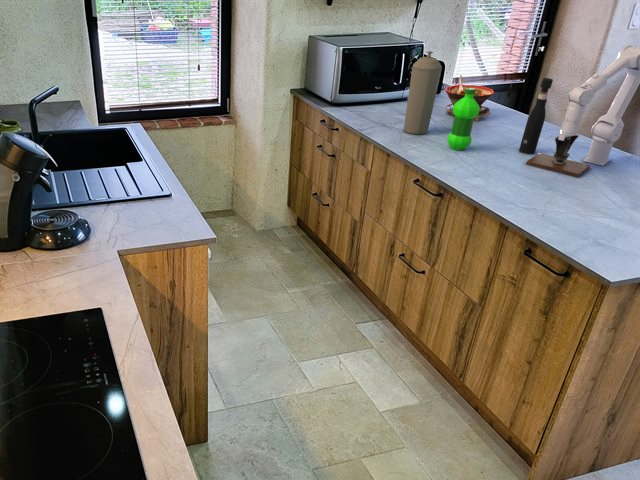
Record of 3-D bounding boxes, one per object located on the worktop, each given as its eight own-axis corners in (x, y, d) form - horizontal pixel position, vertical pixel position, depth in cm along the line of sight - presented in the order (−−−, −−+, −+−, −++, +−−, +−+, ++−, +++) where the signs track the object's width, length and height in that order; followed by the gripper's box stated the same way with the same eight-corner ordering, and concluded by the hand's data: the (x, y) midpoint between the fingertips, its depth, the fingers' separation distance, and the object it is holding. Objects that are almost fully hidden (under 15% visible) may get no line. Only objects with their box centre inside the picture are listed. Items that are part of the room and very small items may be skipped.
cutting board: (539, 156, 249) (540, 152, 248) (589, 168, 238) (590, 165, 237) (526, 164, 241) (527, 160, 240) (577, 177, 229) (578, 173, 228)
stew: (436, 104, 315) (443, 73, 306) (483, 107, 312) (490, 75, 304) (444, 119, 292) (451, 86, 283) (495, 122, 289) (503, 88, 280)
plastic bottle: (473, 148, 256) (487, 88, 243) (462, 154, 250) (476, 93, 236) (452, 142, 262) (464, 84, 248) (441, 148, 255) (453, 88, 242)
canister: (399, 133, 272) (412, 52, 253) (403, 126, 282) (417, 47, 263) (427, 137, 268) (443, 55, 249) (431, 129, 278) (446, 50, 259)
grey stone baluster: (568, 165, 235) (578, 135, 229) (552, 164, 236) (562, 134, 230) (564, 160, 240) (574, 131, 234) (549, 159, 241) (558, 130, 234)
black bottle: (535, 150, 255) (556, 78, 239) (534, 155, 250) (556, 81, 234) (519, 148, 257) (539, 76, 241) (518, 152, 252) (538, 79, 236)
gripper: (577, 126, 222) (565, 161, 230) (589, 118, 231) (578, 152, 238) (557, 122, 226) (547, 156, 234) (570, 114, 235) (560, 148, 242)
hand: (561, 154), depth 236 cm, fingers closed on grey stone baluster, 6 cm apart
